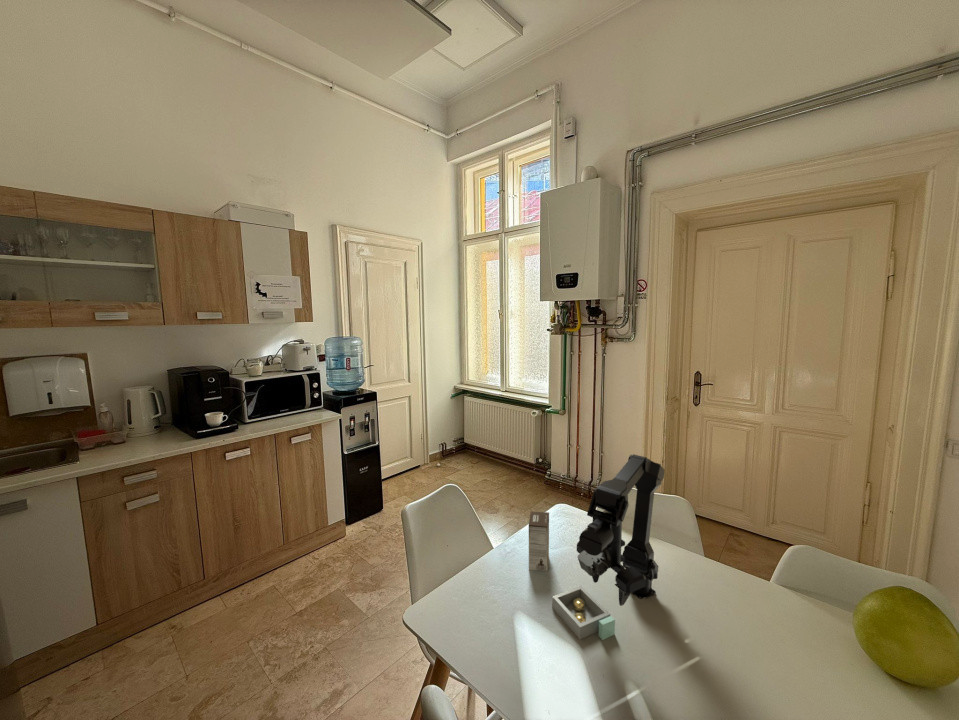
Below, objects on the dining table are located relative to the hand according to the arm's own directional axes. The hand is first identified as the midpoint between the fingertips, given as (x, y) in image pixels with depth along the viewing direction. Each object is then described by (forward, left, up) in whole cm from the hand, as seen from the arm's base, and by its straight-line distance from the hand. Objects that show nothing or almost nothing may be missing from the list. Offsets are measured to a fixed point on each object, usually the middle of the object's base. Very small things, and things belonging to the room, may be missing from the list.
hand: (608, 593), depth 100 cm
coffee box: (0, -32, -12) cm, 35 cm away
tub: (+3, -7, -12) cm, 14 cm away
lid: (+1, +5, -12) cm, 13 cm away
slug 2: (+5, -5, -11) cm, 13 cm away
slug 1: (+1, -10, -11) cm, 15 cm away
